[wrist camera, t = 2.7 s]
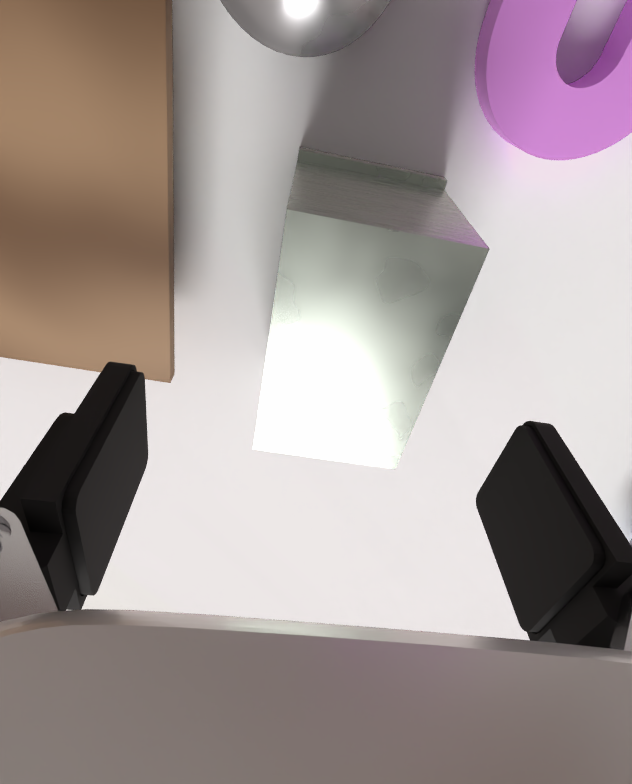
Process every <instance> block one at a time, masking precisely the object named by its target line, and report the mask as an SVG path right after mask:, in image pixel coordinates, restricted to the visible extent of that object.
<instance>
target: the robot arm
mask: <svg viewBox="0 0 632 784" xmlns="http://www.w3.org/2000/svg"><path fill="white" fill-rule="evenodd" d="M147 460H148V441H147V419H146V398H145V377H144V373H143V372H137V369H136V366H135V365H132V364H125V363H118V362H108V363H107V364H106V365H105V367H104V368H103V370H102V372H101V373H100V375H99V376H98V378H97V379H96V381H95V382H94V384H93V386H92V387H91V389H90V390H89V392H88V393H87V395H86V396H85V398H84V400H83V401H82V403H81V404H80V406H79V407H78V409H77V410H76V412H75V414H72V413H62V414H60V415H59V417H58V418H57V419H56V420H55V422H54V423H53V424H52V426H51V427H50V429H49V430H48V432H47V433H46V435H45V436H44V438H43V439H42V441H41V442H40V444H39V445H38V446H37V448H36V449H35V451H34V452H33V454H32V455H31V457H30V458H29V460H28V461H27V463H26V464H25V465H24V467H23V468H22V470H21V471H20V473H19V474H18V476H17V477H16V479H15V480H14V482H13V483H12V485H11V486H10V487H9V489H8V490H7V492H6V493H5V495H4V496H3V498H2V499H1V501H0V784H632V547H631V545H630V543H629V542H628V540H627V539H626V537H625V536H624V534H623V533H622V531H621V530H620V528H619V526H618V525H617V523H616V522H615V520H614V519H613V517H612V516H611V514H610V512H609V511H608V509H607V508H606V506H605V505H604V503H603V502H602V500H601V499H600V497H599V495H598V494H597V492H596V491H595V489H594V488H593V486H592V485H591V483H590V482H589V480H588V478H587V477H586V475H585V474H584V472H583V471H582V469H581V468H580V466H579V465H578V463H577V461H576V460H575V458H574V457H573V455H572V454H571V452H570V451H569V449H568V447H567V446H566V444H565V443H564V441H563V440H562V438H561V437H560V435H559V434H558V432H557V430H556V429H555V428H554V426H553V425H551V424H547V423H540V422H533V421H527V422H525V423H524V424H523V425H522V426H518V427H517V428H516V429H515V431H514V433H513V434H512V436H511V438H510V440H509V441H508V443H507V445H506V446H505V448H504V450H503V451H502V453H501V455H500V456H499V458H498V460H497V461H496V463H495V465H494V467H493V468H492V470H491V472H490V473H489V475H488V477H487V478H486V480H485V482H484V483H483V485H482V487H481V488H480V490H479V492H478V494H477V497H476V506H477V509H478V512H479V515H480V517H481V520H482V523H483V526H484V528H485V531H486V534H487V537H488V539H489V542H490V545H491V548H492V550H493V553H494V556H495V559H496V561H497V564H498V567H499V569H500V572H501V575H502V578H503V580H504V583H505V586H506V589H507V591H508V594H509V597H510V600H511V602H512V605H513V608H514V611H515V613H516V616H517V619H518V622H519V624H520V626H521V628H522V629H523V630H524V631H527V633H528V636H529V639H530V641H529V640H518V639H506V638H495V637H483V636H472V635H460V634H448V633H436V632H424V631H412V630H399V629H387V628H375V627H362V626H350V625H337V624H325V623H312V622H299V621H285V620H272V619H259V618H246V617H233V616H219V615H206V614H189V613H172V612H155V611H138V610H96V609H85V610H81V609H82V606H83V604H84V601H85V599H86V597H87V595H95V594H96V593H97V591H98V589H99V586H100V584H101V581H102V579H103V576H104V574H105V571H106V568H107V566H108V563H109V561H110V558H111V556H112V553H113V551H114V548H115V545H116V543H117V540H118V538H119V535H120V533H121V530H122V527H123V525H124V522H125V520H126V517H127V515H128V512H129V509H130V507H131V504H132V502H133V499H134V497H135V494H136V492H137V489H138V486H139V484H140V481H141V479H142V476H143V474H144V471H145V468H146V465H147ZM66 609H68V610H70V611H66Z"/></svg>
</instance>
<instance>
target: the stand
mask: <svg viewBox="0 0 632 784" xmlns="http://www.w3.org/2000/svg"><path fill="white" fill-rule="evenodd" d="M0 357H5V358H12V359H18V360H25V361H31V362H38V363H44V364H51V365H57V366H64V367H70V368H77V369H83V370H90V371H96V372H102V370H103V368H104V367H105V365H106V364H107V363H108V362H118V363H125V364H132V365H135V366H136V369H137V372H143V373H144V377H145V379H148V380H155V381H161V382H168V383H171V380H172V378H173V376H174V213H173V45H172V0H0Z"/></svg>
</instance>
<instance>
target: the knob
mask: <svg viewBox="0 0 632 784" xmlns="http://www.w3.org/2000/svg"><path fill="white" fill-rule="evenodd" d="M390 1H391V0H221V2H222V4H223V5H224V7H225V8H226V10H227V11H228V12H229V14H230V15H231V17H232V18H233V19H234V20H235V21H236V22H237V23H238V24H239V26H240V27H241V28H242V29H243V30H245V31H246V32H247V33H248V34H249V35H250V36H251V37H252V38H254V39H255V40H257V41H258V42H260V43H261V44H263V45H264V46H266V47H268V48H270V49H273V50H275V51H277V52H280V53H283V54H287V55H291V56H298V57H315V56H320V55H326V54H329V53H332V52H335V51H337V50H340V49H342V48H343V47H345V46H347V45H349V44H351V43H352V42H354V41H355V40H356V39H358V38H359V37H360V36H362V35H363V34H364V33H365V32H366V31H367V30H368V29H369V28H370V27H371V26H372V25H373V24H374V23H375V22H376V20H377V19H378V18H379V17H380V15H381V14H382V13H383V11H384V10H385V8H386V7H387V5H388V4H389V2H390Z"/></svg>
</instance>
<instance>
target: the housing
mask: <svg viewBox="0 0 632 784" xmlns="http://www.w3.org/2000/svg"><path fill="white" fill-rule="evenodd" d="M446 183H447V180H446V178H445V177H442V176H437V175H432V174H427V173H423V172H418V171H413V170H408V169H403V168H399V167H394V166H389V165H384V164H380V163H375V162H370V161H365V160H360V159H356V158H351V157H346V156H341V155H337V154H332V153H327V152H322V151H318V150H313V149H308V148H303V147H300V148H299V154H298V161H297V165H296V170H295V174H294V179H293V183H292V188H291V192H290V197H289V201H288V206H287V211H286V218H285V225H284V232H283V239H282V246H281V253H280V260H279V267H278V274H277V282H276V289H275V296H274V303H273V310H272V317H271V324H270V331H269V338H268V345H267V352H266V359H265V367H264V374H263V381H262V388H261V395H260V402H259V409H258V416H257V423H256V430H255V437H254V445H253V449H255V450H262V451H269V452H276V453H283V454H290V455H298V456H305V457H312V458H319V459H326V460H333V461H340V462H347V463H354V464H361V465H368V466H375V467H382V468H389V469H396V467H397V464H398V462H399V460H400V457H401V455H402V453H403V450H404V448H405V446H406V443H407V441H408V439H409V436H410V434H411V432H412V429H413V427H414V425H415V422H416V420H417V418H418V415H419V413H420V411H421V408H422V406H423V404H424V401H425V399H426V396H427V394H428V392H429V389H430V387H431V385H432V382H433V380H434V378H435V375H436V373H437V371H438V368H439V366H440V364H441V361H442V359H443V357H444V354H445V352H446V350H447V347H448V345H449V343H450V340H451V338H452V336H453V333H454V331H455V329H456V326H457V324H458V322H459V319H460V317H461V314H462V312H463V310H464V307H465V305H466V303H467V300H468V298H469V296H470V293H471V291H472V289H473V286H474V284H475V282H476V279H477V277H478V275H479V272H480V270H481V268H482V265H483V263H484V261H485V258H486V256H487V254H488V251H489V247H488V246H487V245H486V244H485V242H484V241H483V240H482V238H481V237H480V236H479V234H478V233H477V232H476V231H475V229H474V228H473V227H472V225H471V224H470V223H469V222H468V220H467V219H466V218H465V216H464V215H463V214H462V212H461V211H460V210H459V209H458V207H457V206H456V205H455V203H454V202H453V201H452V200H451V198H450V197H449V196H448V194H447V193H446V192H445V190H444V189H445V186H446Z"/></svg>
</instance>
